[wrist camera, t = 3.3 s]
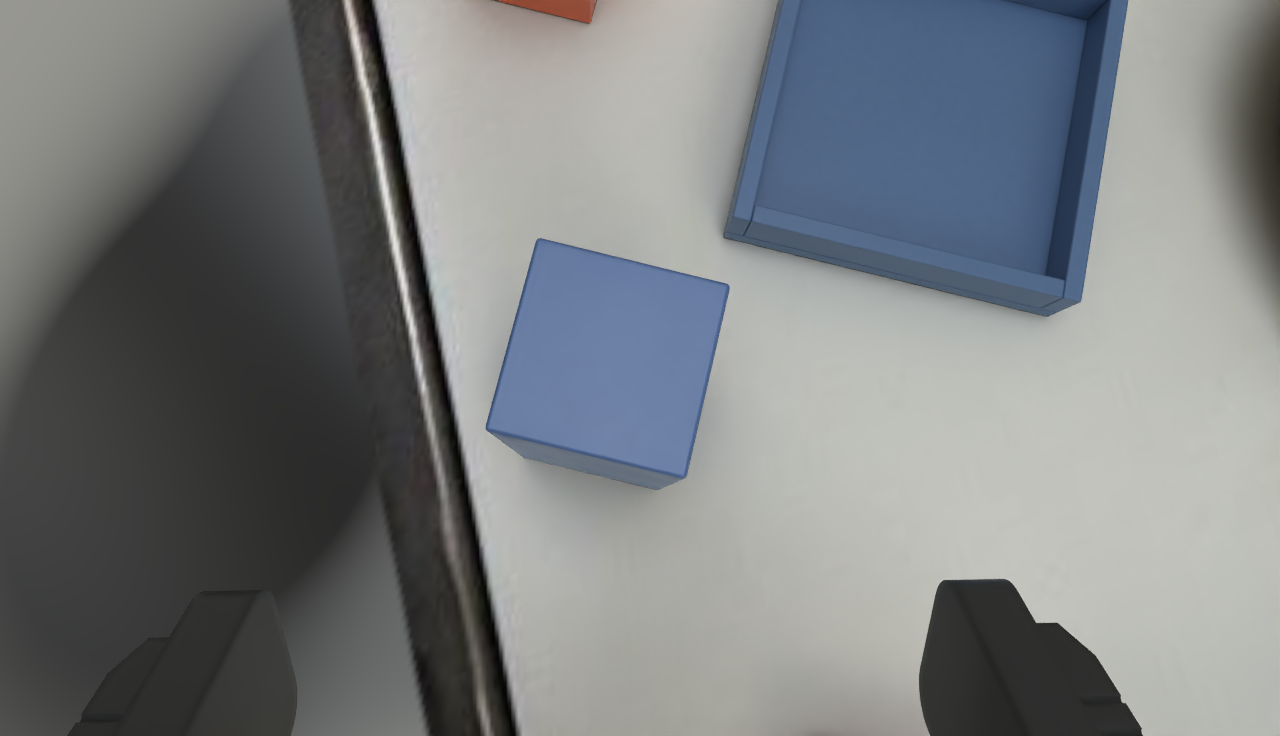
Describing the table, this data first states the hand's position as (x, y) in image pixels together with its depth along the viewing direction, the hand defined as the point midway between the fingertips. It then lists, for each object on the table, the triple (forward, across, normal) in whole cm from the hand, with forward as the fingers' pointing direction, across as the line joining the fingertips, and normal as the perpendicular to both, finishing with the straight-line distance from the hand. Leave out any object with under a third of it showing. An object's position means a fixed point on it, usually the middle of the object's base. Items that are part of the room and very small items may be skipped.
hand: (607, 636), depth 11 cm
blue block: (+16, 0, +6) cm, 18 cm away
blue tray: (+22, -10, -1) cm, 25 cm away
